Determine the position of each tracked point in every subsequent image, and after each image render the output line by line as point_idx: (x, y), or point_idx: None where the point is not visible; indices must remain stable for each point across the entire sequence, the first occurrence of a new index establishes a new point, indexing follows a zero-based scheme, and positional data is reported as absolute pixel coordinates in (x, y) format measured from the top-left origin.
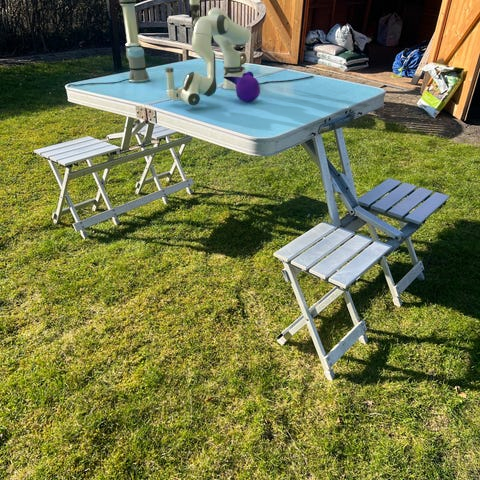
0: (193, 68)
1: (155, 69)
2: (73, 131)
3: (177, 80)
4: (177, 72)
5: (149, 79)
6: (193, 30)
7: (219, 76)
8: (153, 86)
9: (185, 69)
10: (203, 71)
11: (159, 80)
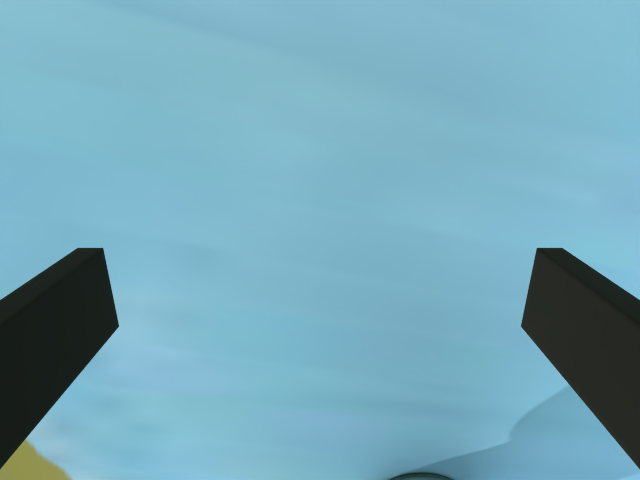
0: (63, 142)
1: None
2: None
3: (514, 343)
4: (218, 295)
5: (430, 477)
6: (58, 377)
7: (548, 6)
8: (602, 473)
9: (100, 217)
10: (244, 89)
11: (454, 430)
